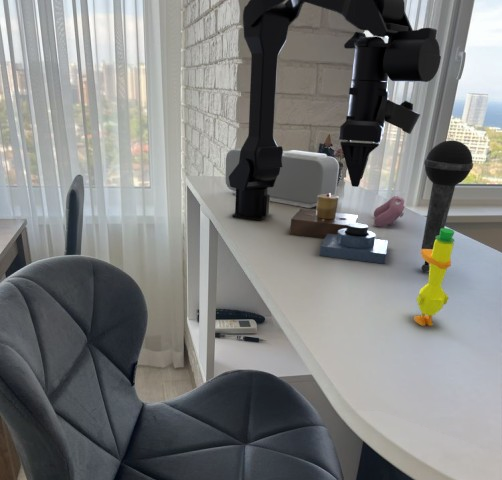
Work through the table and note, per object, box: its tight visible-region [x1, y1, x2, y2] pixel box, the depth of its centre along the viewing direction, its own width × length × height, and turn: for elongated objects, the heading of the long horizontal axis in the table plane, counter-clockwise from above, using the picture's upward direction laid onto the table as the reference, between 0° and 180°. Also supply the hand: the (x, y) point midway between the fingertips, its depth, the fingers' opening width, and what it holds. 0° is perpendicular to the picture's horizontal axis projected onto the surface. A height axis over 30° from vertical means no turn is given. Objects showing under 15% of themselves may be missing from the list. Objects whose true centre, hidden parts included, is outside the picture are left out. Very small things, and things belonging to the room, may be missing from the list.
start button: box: [346, 222, 369, 236], centre depth 88 cm, size 4×4×2 cm
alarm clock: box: [224, 148, 340, 209], centre depth 127 cm, size 27×9×12 cm, turn 58°
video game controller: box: [373, 195, 405, 228], centre depth 110 cm, size 10×5×7 cm, turn 168°
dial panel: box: [289, 208, 359, 239], centre depth 101 cm, size 12×10×3 cm
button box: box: [319, 228, 389, 264], centre depth 89 cm, size 11×9×4 cm
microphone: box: [420, 139, 474, 273], centre depth 77 cm, size 7×7×20 cm
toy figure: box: [413, 227, 455, 327], centre depth 61 cm, size 7×4×12 cm, turn 9°
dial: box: [315, 193, 339, 219], centre depth 99 cm, size 4×4×4 cm
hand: (357, 182), depth 87 cm, fingers open, 9 cm apart
